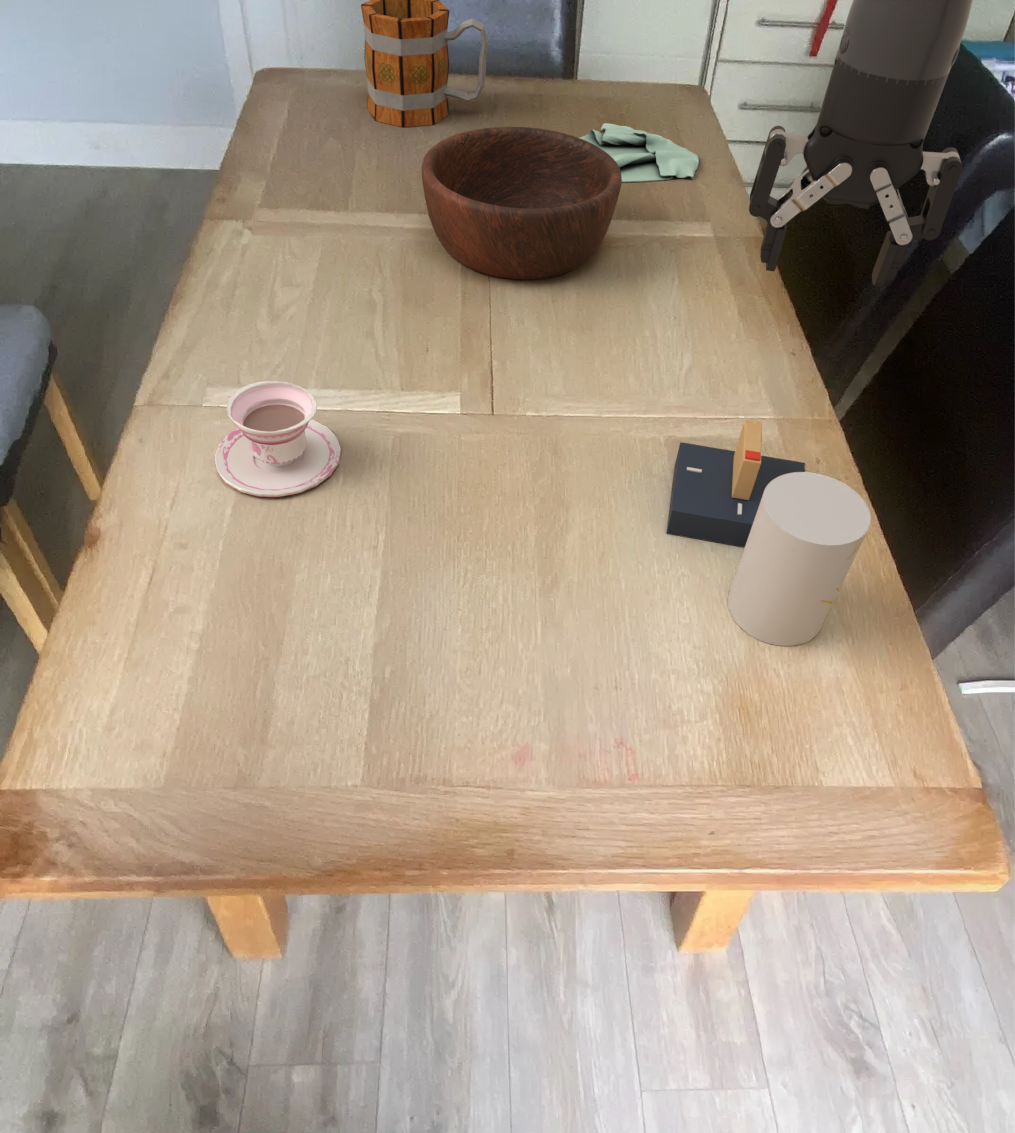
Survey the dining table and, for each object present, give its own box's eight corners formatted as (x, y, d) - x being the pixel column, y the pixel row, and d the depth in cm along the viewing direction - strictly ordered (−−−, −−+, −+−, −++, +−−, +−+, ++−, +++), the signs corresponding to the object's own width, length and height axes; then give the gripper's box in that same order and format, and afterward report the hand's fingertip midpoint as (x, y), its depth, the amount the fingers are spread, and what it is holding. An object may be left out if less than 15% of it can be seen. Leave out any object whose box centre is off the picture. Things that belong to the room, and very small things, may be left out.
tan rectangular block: (733, 456, 87) (745, 417, 83) (750, 459, 87) (762, 419, 83) (731, 497, 83) (743, 458, 79) (749, 500, 83) (762, 461, 79)
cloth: (710, 184, 135) (714, 168, 133) (565, 182, 133) (567, 165, 131) (683, 129, 149) (686, 114, 147) (551, 126, 147) (553, 111, 145)
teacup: (364, 442, 90) (360, 392, 86) (293, 515, 83) (284, 464, 78) (265, 406, 94) (256, 355, 89) (189, 473, 86) (174, 421, 82)
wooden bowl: (633, 223, 125) (645, 148, 118) (577, 311, 109) (586, 230, 101) (467, 186, 131) (469, 111, 123) (390, 264, 114) (386, 184, 107)
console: (795, 478, 90) (805, 454, 87) (797, 557, 82) (807, 532, 80) (675, 458, 91) (681, 433, 89) (666, 533, 84) (672, 508, 81)
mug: (360, 124, 144) (353, 18, 133) (373, 93, 153) (367, -9, 142) (484, 132, 144) (486, 27, 133) (488, 100, 153) (491, -1, 142)
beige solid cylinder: (830, 649, 75) (881, 549, 66) (732, 641, 75) (770, 540, 66) (814, 577, 81) (859, 476, 72) (723, 570, 81) (756, 468, 72)
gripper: (994, 50, 63) (908, 264, 75) (788, 26, 65) (735, 240, 77) (1012, 87, 58) (917, 311, 70) (789, 61, 60) (732, 284, 72)
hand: (822, 274), depth 73 cm, fingers open, 8 cm apart
